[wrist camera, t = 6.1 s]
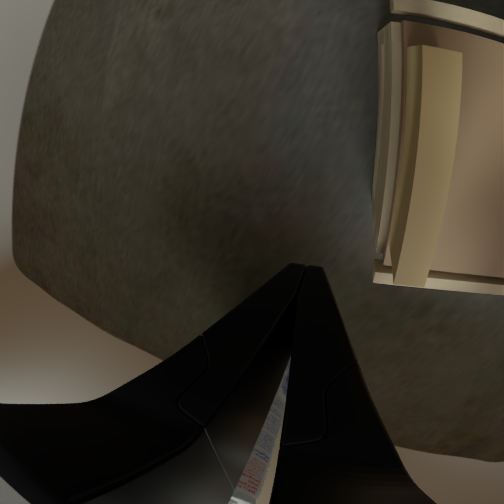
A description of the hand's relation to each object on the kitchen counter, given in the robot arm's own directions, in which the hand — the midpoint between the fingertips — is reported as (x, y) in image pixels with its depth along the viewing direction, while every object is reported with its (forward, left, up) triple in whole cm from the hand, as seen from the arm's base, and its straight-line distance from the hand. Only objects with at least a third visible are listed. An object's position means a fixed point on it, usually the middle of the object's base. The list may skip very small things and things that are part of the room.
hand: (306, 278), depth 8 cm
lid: (-9, -2, -6) cm, 11 cm away
